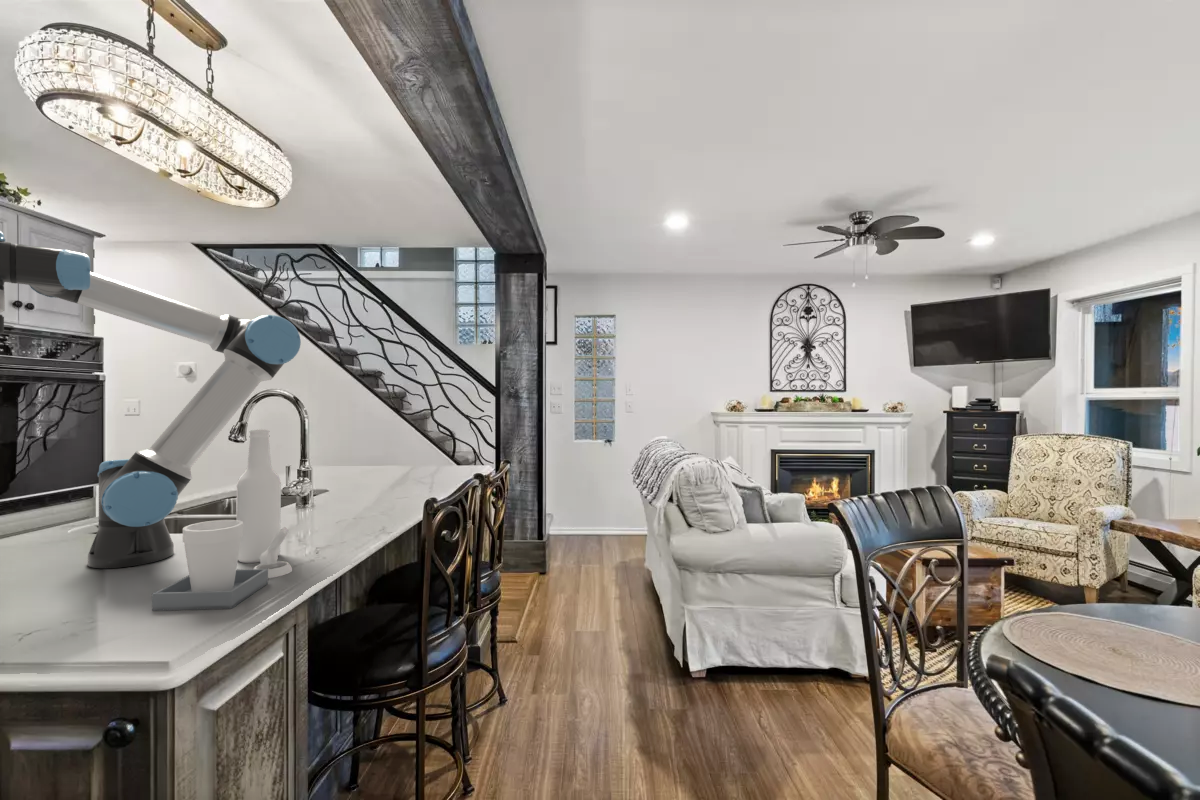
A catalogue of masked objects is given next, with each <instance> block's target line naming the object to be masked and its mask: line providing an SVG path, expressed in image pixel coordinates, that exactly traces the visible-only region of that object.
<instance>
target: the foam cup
mask: <svg viewBox="0 0 1200 800" xmlns="http://www.w3.org/2000/svg"><path fill="white" fill-rule="evenodd" d="M241 536H243V521H239V520H236V519H216V520H209V521H208V520H207V521H201V522H196V523H192V524H191V523H190V524H189V525H185V526H184V527H183V528H182V543H184V551H185V556H186V557H185V558H186V564H187V569H188V575H189V577H190V584H191V590H192V592H203V591H231V590H232V589H233V588H234V581H235V575H236V569H238V568H237V567H238V562H239V560H238V555H239V549H240V542H241Z"/></svg>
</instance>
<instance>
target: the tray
mask: <svg viewBox="0 0 1200 800" xmlns="http://www.w3.org/2000/svg"><path fill="white" fill-rule="evenodd" d="M268 579H269V578H268V569H254V568H250V569H249V568H248V569H247V568H243V569H242V568H241V569H238V568H236V575H235V581H234V588H233V589H232V590H231V591H203V592H192V590H191V584H190V577H189V574H188V575H186V576H184V577H182V578H180V579H178V580H177V581H175V582H172V583H171V584H169V585H167V586H165V587H163V588H161V589H159V590H156V591H155V592H153V593H152V594H151V595H152V596H151V611H152V612H154V611H155V612H157V611H191V610H192V611H193V610H195V611H197V610H224V609H225V610H228V609H230V610H231V609H233V608H235V607H236V606H238V605H239V604H241V603H242V602H243V601H245V600H246V599H248V598H249V597H250V596H252V595H254V594H255V593H256V592H258V591H259V590H261V589H262V588H264V587H265V586H266V585H268V583H269V580H268Z"/></svg>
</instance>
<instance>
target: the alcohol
mask: <svg viewBox="0 0 1200 800" xmlns="http://www.w3.org/2000/svg"><path fill="white" fill-rule="evenodd" d="M269 433H270V430H269V429H250V430H249V448H248V458H247V466H246V469H245V471H244V472H243V473H242V474H241V475H240V477H239V478H238V480H237V483H236V519H235V520H239V521H243V536H241V542H240V549H239V555H238V562H240V563H244V564H256V563H260V561H259V557H260V556H261V554H262V553H264V552H265V551H266V550H267V549H268V547H269V546H270V544H271V542H272V541H273V539H274V538H275V536H276V535H277V533H278V532H279V531H280V530H281V529H282V528H281V522H282V517H281V516H282V514H281V513H282V511H281V510H282V507H281V503H282V499H281V498H282V494H281V493H282V482H281V479H280V478H281V477H280V476H279V474H278V473H277V472H276V471H275V470H274V469H273V467H272V460H271V450H270V449H271V448H270V439H269V438H270V434H269ZM276 553H277V556H279V555H280V554H281V545H280V546H279V548H278V549H277V552H276Z"/></svg>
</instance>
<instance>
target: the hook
mask: <svg viewBox="0 0 1200 800" xmlns="http://www.w3.org/2000/svg"><path fill="white" fill-rule="evenodd" d="M288 534H289V529H288V528H287V527H285V526H284V527H282V528H281V530H280V531H279V532H278V533H277V535H276V536H275V538H274V539H273V541H272V542H271V544H270V546H269V547H268V549H267V550H266V551H265V552H264V553H262V554H261V556H260V557H259V561H260V562H259V564H257V565H255V566H254V567H253V569H268V579H271V578H278V577H282V576H285V575H288V574H290V573H291V572H292V571H293V567H292V566H291V564H290V562H288V561H287V560H286V561H284V560H278V559H279V557H278V556H279V555H278V556H277V553H276V552H277V549H278V548H279V546H280V547H281V545H282V543H283V542H284V540H285V538H286V537H287V535H288Z"/></svg>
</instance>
